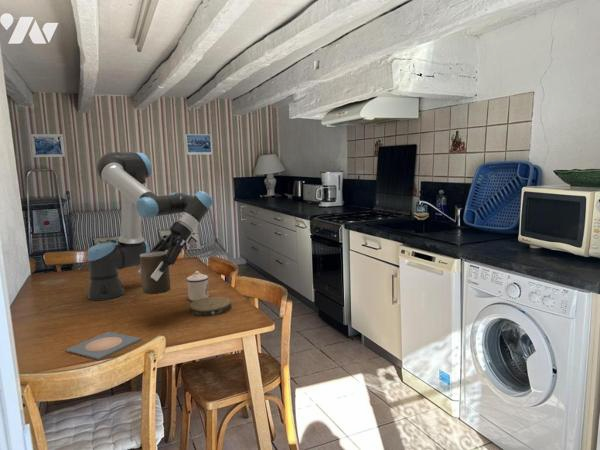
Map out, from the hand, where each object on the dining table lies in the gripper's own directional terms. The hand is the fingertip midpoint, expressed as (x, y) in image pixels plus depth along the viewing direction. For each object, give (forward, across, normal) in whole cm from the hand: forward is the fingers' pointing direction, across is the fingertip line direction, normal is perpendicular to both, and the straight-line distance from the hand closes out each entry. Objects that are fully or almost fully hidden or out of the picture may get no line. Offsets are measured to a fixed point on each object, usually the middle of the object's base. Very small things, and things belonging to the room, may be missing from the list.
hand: (147, 276), depth 154 cm
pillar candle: (+2, 0, +6) cm, 7 cm away
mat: (+26, +6, -1) cm, 27 cm away
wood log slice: (-3, +3, +29) cm, 30 cm away
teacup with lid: (-7, -15, +33) cm, 37 cm away
